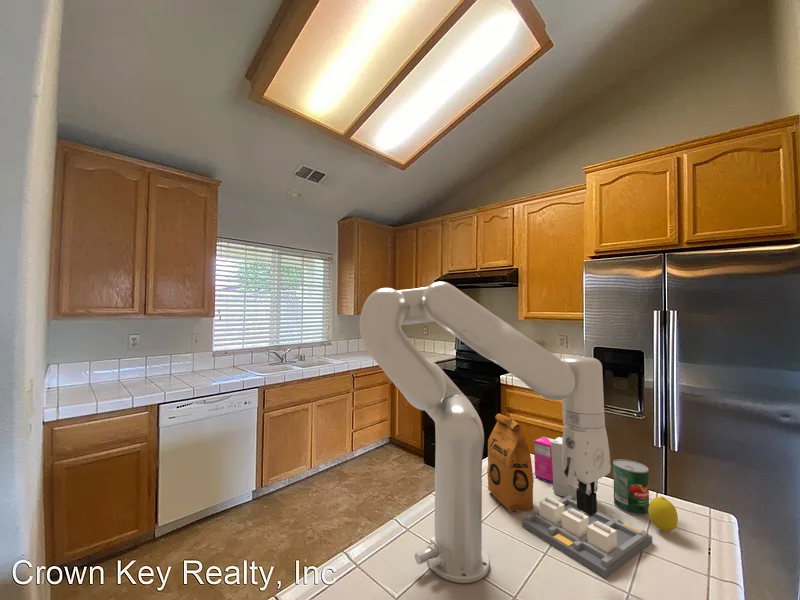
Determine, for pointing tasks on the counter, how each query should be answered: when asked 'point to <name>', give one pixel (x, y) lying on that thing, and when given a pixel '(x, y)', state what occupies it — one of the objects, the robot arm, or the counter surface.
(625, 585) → the counter surface
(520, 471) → the coffee package
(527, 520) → the switch board
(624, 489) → the canned tomato
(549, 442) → the supplement box
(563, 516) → the tab middle
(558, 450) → the skincare box
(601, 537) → the tab near
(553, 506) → the tab far
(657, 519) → the lemon
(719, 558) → the counter surface
